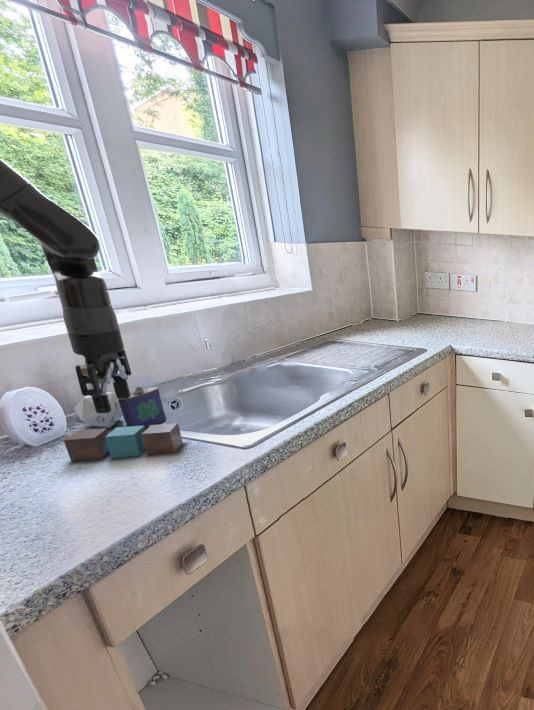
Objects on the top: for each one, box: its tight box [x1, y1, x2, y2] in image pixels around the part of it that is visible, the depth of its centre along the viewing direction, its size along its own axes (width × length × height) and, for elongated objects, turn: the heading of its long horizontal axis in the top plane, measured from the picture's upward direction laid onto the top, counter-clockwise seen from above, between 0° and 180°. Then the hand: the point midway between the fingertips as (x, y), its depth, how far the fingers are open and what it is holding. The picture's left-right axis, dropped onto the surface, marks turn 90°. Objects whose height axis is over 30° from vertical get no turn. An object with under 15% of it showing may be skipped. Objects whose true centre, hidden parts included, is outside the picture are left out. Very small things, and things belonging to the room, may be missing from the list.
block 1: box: [63, 427, 110, 463], centre depth 96 cm, size 5×5×5 cm
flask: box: [118, 385, 167, 431], centre depth 109 cm, size 9×3×11 cm, turn 171°
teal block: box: [105, 426, 146, 459], centre depth 98 cm, size 5×5×5 cm
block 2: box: [142, 422, 184, 456], centre depth 100 cm, size 5×5×5 cm
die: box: [73, 391, 124, 429], centre depth 109 cm, size 8×9×10 cm
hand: (114, 404), depth 95 cm, fingers open, 8 cm apart
